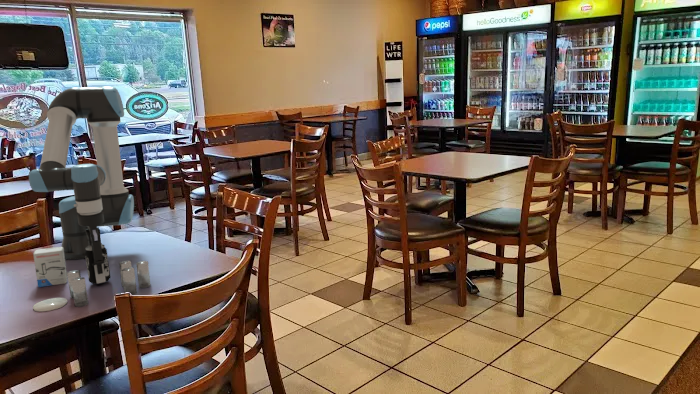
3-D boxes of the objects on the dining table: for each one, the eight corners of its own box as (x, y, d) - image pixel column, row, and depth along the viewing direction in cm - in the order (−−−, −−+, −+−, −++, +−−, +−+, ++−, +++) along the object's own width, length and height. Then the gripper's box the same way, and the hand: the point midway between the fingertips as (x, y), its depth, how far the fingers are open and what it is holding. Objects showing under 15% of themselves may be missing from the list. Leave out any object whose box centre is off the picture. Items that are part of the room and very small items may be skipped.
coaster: (32, 304, 157) (32, 302, 157) (65, 296, 162) (65, 295, 162) (33, 314, 150) (33, 312, 150) (68, 306, 155) (68, 305, 154)
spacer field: (70, 295, 163) (66, 271, 161) (146, 279, 175) (144, 257, 173) (73, 308, 153) (70, 282, 152) (154, 290, 165) (151, 266, 164)
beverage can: (101, 285, 169) (96, 250, 166) (84, 284, 170) (79, 249, 167) (115, 277, 175) (110, 244, 172) (98, 276, 176) (93, 243, 173)
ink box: (37, 287, 170) (32, 253, 168) (39, 282, 175) (34, 249, 172) (66, 283, 174) (61, 250, 171) (68, 278, 178) (63, 246, 176)
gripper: (74, 208, 173) (83, 272, 178) (80, 220, 157) (91, 291, 162) (98, 204, 177) (107, 267, 182) (107, 216, 161) (116, 285, 166)
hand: (99, 278), depth 172 cm, fingers closed on beverage can, 6 cm apart
